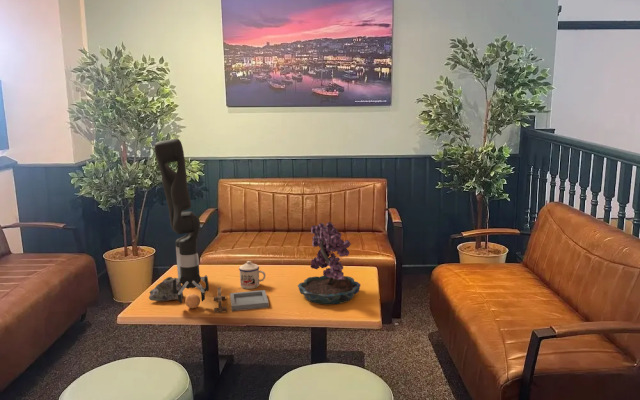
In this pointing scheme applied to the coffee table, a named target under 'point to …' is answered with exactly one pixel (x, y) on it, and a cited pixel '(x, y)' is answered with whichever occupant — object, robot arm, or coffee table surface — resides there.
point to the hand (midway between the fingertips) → (192, 301)
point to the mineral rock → (165, 290)
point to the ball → (192, 301)
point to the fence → (220, 302)
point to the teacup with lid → (250, 275)
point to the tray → (249, 300)
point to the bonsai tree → (329, 269)
